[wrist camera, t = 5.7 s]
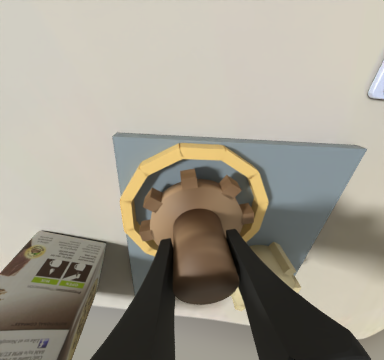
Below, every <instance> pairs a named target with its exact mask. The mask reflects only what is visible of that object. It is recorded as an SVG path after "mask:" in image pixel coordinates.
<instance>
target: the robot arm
mask: <svg viewBox="0 0 384 360" xmlns="http://www.w3.org/2000/svg"><path fill="white" fill-rule="evenodd" d="M383 91H384V61H383V63H382V65H381V67H380V69H379V71H378V73H377V75H376V77H375V79H374V81H373V83H372V85H371V87H370V89H369V92H368V96H369V97H370V98H376V99H384V92H383ZM226 239H227V243H228V246H229V249H230V252H231V255H232V258H233V261H234V264H235V268H236V271H237V274H238V277H239V286H238V288H239V291H240V294H241V296H242V299H243V302H244V305H245V308H246V312H247V315H248V319H249V323H250V326H251V330H252V334H253V338H254V341H255V345H256V349H257V353H258V356H259V360H371V358H370V357H369V355H368V354H367V352H366V351H365V350H364V348H363V347H362V345H361V344H360V343H359V342H358V340H357V339H356V338H355V337H354V335H353V334H352V333H351V332H350V331H349V330H348V329H346V328H345V327H343V326H342V325H340V324H339V323H337V322H336V321H334V320H333V319H331V318H330V317H329V316H327V315H326V314H324V313H323V312H321V311H320V310H319V309H317V308H316V307H315V306H313V305H312V304H310V303H309V302H308V301H307V300H305V299H304V298H303V297H302V296H300V295H299V294H298V293H297V292H295V291H294V290H293V289H292V288H290V287H289V286H288V285H287V284H286V283H285V282H283V281H282V280H281V279H280V278H279V277H278V276H277V275H276V274H275V273H274V272H273V271H272V270H271V269H270V268H268V266H267V265H266V264H265V263H264V262H263V261H262V260H261V259H260V258H259V257H258V256H257V255H256V254H255V253H254V251H253V250H252V249H251V248H250V247H249V246H248V244H247V243H246V242H245V241H244V239H243V238H242V237H241V235H240V234H239V233H238V231H237V230H236V229H230V230H226ZM174 309H175V295H174V293H173V245H172V241H171V238H168V239H162V240H161V241H160V244H159V247H158V250H157V252H156V255H155V257H154V260H153V262H152V264H151V266H150V269H149V271H148V273H147V275H146V277H145V279H144V281H143V283H142V285H141V287H140V288H139V290H138V292H137V294H136V296H135V297H134V299H133V301H132V302H131V304H130V305H129V307H128V309H127V310H126V312H125V313H124V315H123V317H122V318H121V319H120V321H119V322H118V324H117V325H116V326H115V328H114V329H113V330H112V332H111V333H110V335H109V336H108V337H107V339H106V340H105V341H104V343H103V344H102V345H101V347H100V348H99V349H98V350H97V352H96V353H95V354H94V355H93V357H92V358H91V359H90V360H175V339H174Z"/></svg>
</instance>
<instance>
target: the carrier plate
mask: <svg viewBox="0 0 384 360" xmlns="http://www.w3.org/2000/svg"><path fill="white" fill-rule="evenodd" d="M113 144H114V151H115V158H116V165H117V172H118V179H119V186H120V193H121V198H120V207H121V213H122V220H123V227H124V231H125V233H126V236H127V243H128V250H129V257H130V264H131V271H132V278H133V285H134V292H135V296H136V294H137V292H138V290H139V288H140V287H141V285H142V283H143V281H144V279H145V277H146V275H147V273H148V271H149V269H150V266H151V264H152V262H153V260H154V257H155V255H156V252H157V250H158V247H159V246H158V245H157V244H156V243H155V241H154V240H149V241H142V239H141V236H140V234H139V230H140V225H141V221H144V220H150V219H151V214H152V211H150V210H148V209H146V208H143V204H144V200H145V196H146V195H147V194H148V192H149V191H150V190H151V188H152V187H153V188H155V189H156V190H158V191H160V192H164V191H165V190H166V189H167V188H169V187H170V186H172V185H174V184H176V183H179V182H181V176H180V171H183V170H189V169H195V173H196V178H197V179H206V180H211V181H215V182H217V183H219V182H220V181H221V180H222V179H223V178H224V177H225V176H226V175H228V176H229V177H231V178H232V179H234V180H235V181H237V183H238V185H239V186H240V188H241V190H242V191H241V192H240V193H239V194H238V195H237V196H236V197H235V198H236V200H237V202H238V204H245V203H249V205H250V207H251V208H252V210H253V212H254V223H249V224H243V226H242V229H241V232H240V235H241V237H242V238H243V239H244V241H245V242H246V243H247V244H248V246H249V247H250V248H251V249H252V250H253V251H254V253H255V254H256V255H257V256H258V257H259V258H260V259H261V260H262V261H263V262H264V263H265V264H266V265H267V266H268V268H270V269H271V270H272V271H273V272H274V273H275V274H276V275H277V276H278V277H279V278H280V279H281V280H282V281H283V282H285V283H286V284H287V285H288V286H289V287H290V288H292V289H293V290H294V291H295V292H297V293H298V292H299V291H300V289H301V286H300V284H299V283H298V281H297V279H296V278H295V275H296V273H297V272H298V270H299V268H300V266H301V265H302V263H303V261H304V259H305V257H306V256H307V254H308V252H309V250H310V249H311V247H312V245H313V243H314V242H315V240H316V238H317V236H318V235H319V233H320V231H321V229H322V228H323V226H324V224H325V222H326V221H327V219H328V217H329V215H330V214H331V212H332V210H333V208H334V207H335V205H336V203H337V201H338V200H339V198H340V196H341V194H342V192H343V191H344V189H345V187H346V185H347V184H348V182H349V180H350V178H351V177H352V175H353V173H354V171H355V170H356V168H357V166H358V164H359V163H360V161H361V159H362V157H363V156H364V154H365V152H366V150H367V149H365V148H362V147H360V146H357V145H343V144H324V143H305V142H286V141H267V140H247V139H228V138H209V137H190V136H171V135H151V134H132V133H116V134H115V135H114V136H113ZM230 296H232V299H233V303H234V307H235V309H236V310H239V311H243V310H244V309H245V305H244V302H243V299H242V296H241V294H240V291H239V288H237V289H236V291H235V292H234V293H233V294H232V295H230Z"/></svg>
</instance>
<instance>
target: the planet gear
mask: <svg viewBox="0 0 384 360" xmlns="http://www.w3.org/2000/svg"><path fill="white" fill-rule="evenodd" d="M180 176H181V182H179V183H176V184H174V185H172V186H170V187H169V188H167V189H166V190H165V191H164V192H160V191H158V190H156V189H155V188H153V187H152V188H151V190H150V191H149V192H148V194H147V195H146V196H145V200H144V204H143V208H146V209H148V210H150V211H152V214H151V219H150V220H144V221H141V225H140V230H139V234H140V236H141V239H142V241H149V240H154V241H155V243H156V244H157V245H158V246H159V244H160V241H161V240H162V239H168V238H171V241H172V245H173V293H174V295H175V296H176V297H177V298H178V299H180V300H181V301H183V302H186V303H190V304H200V305H202V304H211V303H215V302H218V301H221V300H223V299H225V298H227V297H229V296H230V295H232V294H233V293H234V292H235V291H236V289H237V288H238V286H239V277H238V274H237V271H236V268H235V264H234V261H233V258H232V255H231V252H230V249H229V246H228V243H227V239H226V230H230V229H236V230H237V231H238V233H239V234H240V232H241V229H242V226H243V224H249V223H254V212H253V210H252V208H251V207H250V205H249V203H245V204H238V202H237V200H236V198H235V197H236V196H237V195H238V194H239V193H240V192H241V191H242V190H241V188H240V186H239V185H238V183H237V181H235V180H234V179H232V178H231V177H229V176H228V175H226V176H225V177H224V178H223V179H222V180H221V181H220V182H219V183H217V182H215V181H211V180H206V179H197V178H196V173H195V169H189V170H183V171H180Z"/></svg>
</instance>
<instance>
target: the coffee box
mask: <svg viewBox="0 0 384 360" xmlns="http://www.w3.org/2000/svg"><path fill="white" fill-rule="evenodd" d="M105 249H106V243H102V242H97V241H92V240H86V239H81V238H76V237H70V236H65V235H60V234H54V233H49V232H44V231H39V232H37V233H36V234H35V235H34V236H33V237H32V239H31V240H30V241H29V242H28V243H27V244H26V245H25V246H24V247H23V249H22V250H21V251H20V252H19V253H18V254H17V255H16V256H15V257H14V258H13V259H12V261H11V262H10V263H9V264H8V265H7V266H6V267H5V268H4V269H3V270H2V272H1V273H0V360H72V357H73V354H74V352H75V349H76V346H77V343H78V341H79V338H80V335H81V333H82V330H83V327H84V324H85V322H86V319H87V316H88V313H89V311H90V308H91V306H92V303H93V300H94V297H95V295H96V292H97V288H98V283H99V278H100V273H101V269H102V264H103V259H104V254H105Z"/></svg>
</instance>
